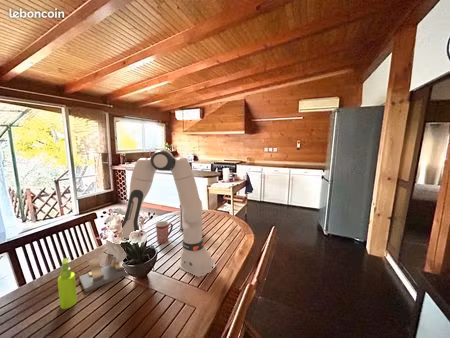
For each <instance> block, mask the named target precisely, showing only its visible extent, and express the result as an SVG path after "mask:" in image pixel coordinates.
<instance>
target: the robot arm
mask: <svg viewBox="0 0 450 338" xmlns="http://www.w3.org/2000/svg"><path fill="white" fill-rule="evenodd" d="M156 171H161V172H163V171H164V172H165V171H167V172H171V173H172V177H173V180H174V183H175V187H176V190H177V194H178V199H179V206H180V205H181V209H182V213H183V217H184V221H183V230H182V234H183V236H182V237H183V238H182V242H181V243H182V245H181V246H182V250H181V254H180V262H179V264H178V269H180V270H183V271H184V272H186V273H188V272H189V273H188V274H190V273H191V274H190V275H192V274H193V275H192V276H194V275H195V276H194V277H196V276H197V277H196V278H201V277H200V276H202V277H204V276H203V275H205V276H207V275H208V274H207V273H209V272H210V271H212V270H213V269H214V268H215V266H216V263H214V262H213V261H212V260H213V259H212V255H211V252H210V251H208V250H207V249H206V246H205V244H206V243H205V242H204V239H203V212H204V211H203V203H202V200H201V198H200V195H199V190H198V186H197V182H196V179H195V176H194V171H193V169H192V167H191V164H190V162H189V160H188V159H187V158H186V157H183V156H181V157H175V156H174V155H173V153H172V152H171V151H170V150H168V149H165V148H164V149H163V148H161V149H157V150H156V151H154V152H153V153H152V154H151V156H150V157H149V158H147V157H141V158H139V159H137V160H136V162H135V165H134V167H133V170H132V173H131V178H130V183H129V184H130V185H129V196H128V203H127V207H126V210H124V209H122V208H114V209H112V210H114V213H117V214H118V213H120V214H121V215H125V218H124V221H123V223H122V228H123V230H122V232H123V235H124V239H126V240H129V235H130V233H131V232H133V231H136V230H139V225H138V217H139V216H141V213H140V212H141V208H142V205H143V203H144V201H145V199H146V197H147V196H148V193H149V192H150V190H151V189H152V184H153V181H154V177H155V174H156ZM139 231H140V230H139ZM126 240H125V241H126ZM105 243H106V249H107V248H108V249H109V250H110V251H111V253H112V254H113V255H112V256H113V260H114V261H115V262H116V263H118V262H121V261H123V260H124V259H125V258H126V259H127V252H126V253H125V251H124V249H123V248H122V247H121V246H120V244H115V243H112V242H110V241H108V240H106V239H105ZM212 267H214V268H212ZM216 267H217V266H216ZM215 269H216V268H215ZM215 269H214V270H215ZM214 270H213V271H214ZM213 271H212V272H213ZM206 274H207V275H206ZM209 274H210V273H209Z"/></svg>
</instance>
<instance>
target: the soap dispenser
mask: <svg viewBox="0 0 450 338" xmlns="http://www.w3.org/2000/svg"><path fill="white" fill-rule="evenodd" d="M69 260H70V259H69V257H64V258H63V259H62V261H61V266H62V268H61V269H60V275H59V276H58V278H57V289H58V299H59V300H58V301H59V307H60V309H61V310H67V309H70V308H72V307H74V305H76V304H77V302H78V298H77V285H76V283H77V282H76V273H75V272H74V271H72V270H71V269H72V268H71V267H70V266H68V263H69Z"/></svg>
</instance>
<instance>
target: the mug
mask: <svg viewBox="0 0 450 338" xmlns="http://www.w3.org/2000/svg"><path fill="white" fill-rule="evenodd" d="M173 226H174V224H173V223H171V222H169V221H167V220H160V221H158V222H156V223H155V231H156V240H157V243H158V244H166V243H168V241H169V236H170V234H171V233H172V231H173ZM169 228H170V229H169Z"/></svg>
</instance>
